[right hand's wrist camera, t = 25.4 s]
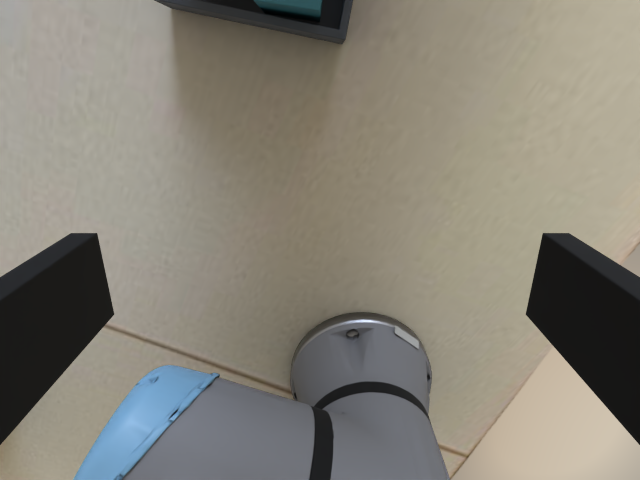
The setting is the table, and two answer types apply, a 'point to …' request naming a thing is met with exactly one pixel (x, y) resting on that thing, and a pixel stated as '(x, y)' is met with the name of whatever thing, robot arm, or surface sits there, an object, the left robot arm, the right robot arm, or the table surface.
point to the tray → (274, 16)
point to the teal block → (292, 8)
